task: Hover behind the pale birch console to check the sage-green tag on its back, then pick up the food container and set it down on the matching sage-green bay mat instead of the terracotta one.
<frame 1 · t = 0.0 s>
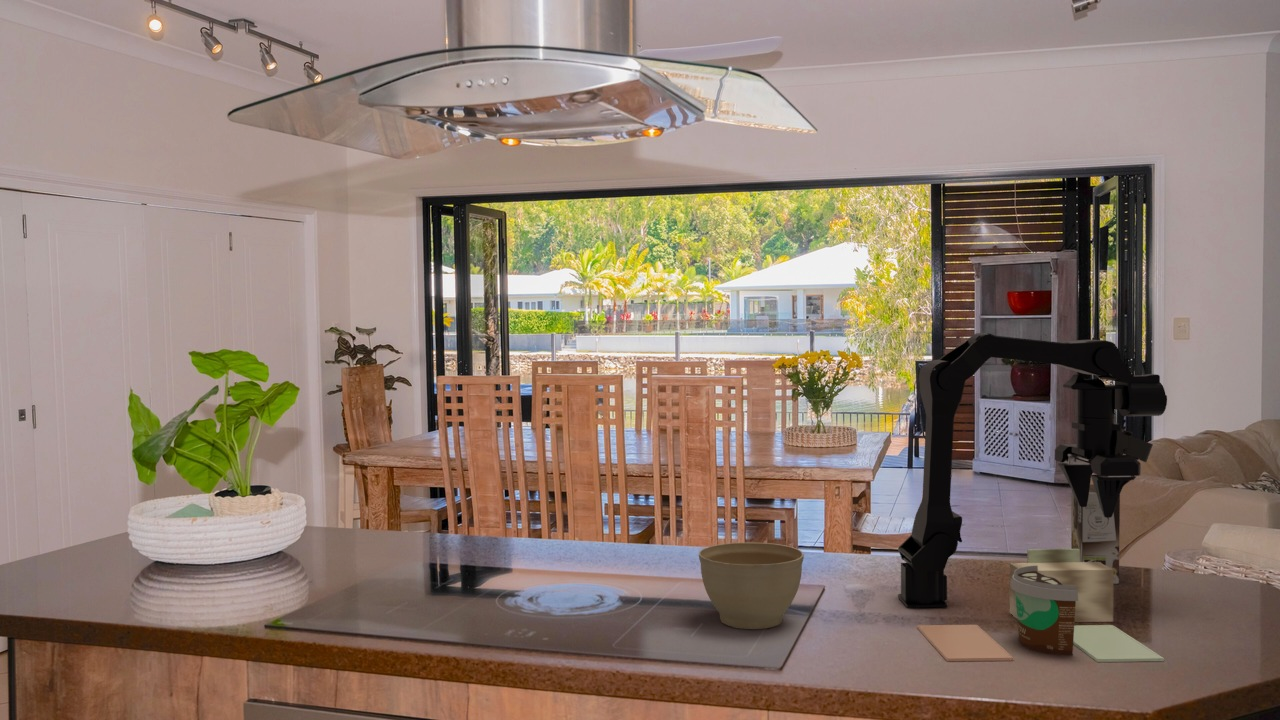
hand: (1095, 511, 166), 15 cm above the kitchen island, tool pointing down, fingers open, 9 cm apart
food container: (1035, 646, 145), on the kitchen island
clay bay: (962, 643, 146), on the kitchen island
coffee box: (1094, 578, 182), on the kitchen island
console: (1060, 617, 158), on the kitchen island
planter bowl: (751, 622, 158), on the kitchen island
sage bay: (1105, 643, 145), on the kitchen island
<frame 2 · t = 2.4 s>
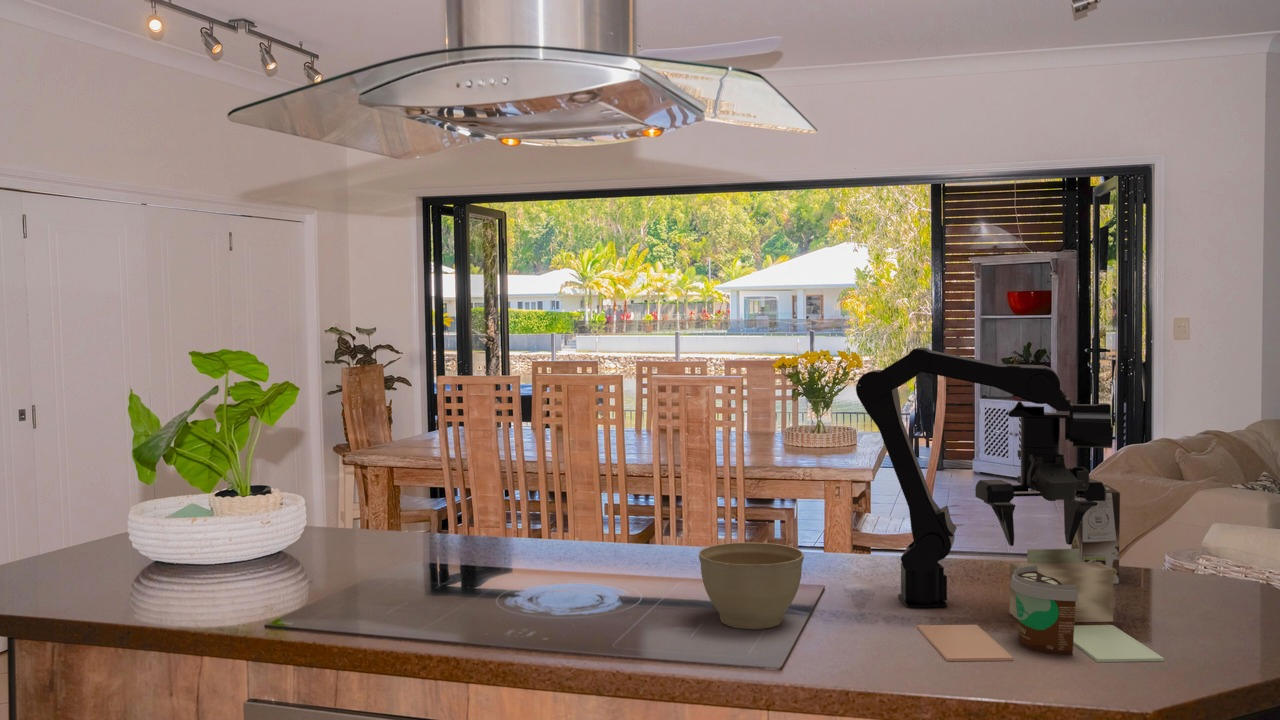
hand: (1039, 544, 159), 11 cm above the kitchen island, tool pointing down, fingers open, 9 cm apart
nothing on the kitchen island moved.
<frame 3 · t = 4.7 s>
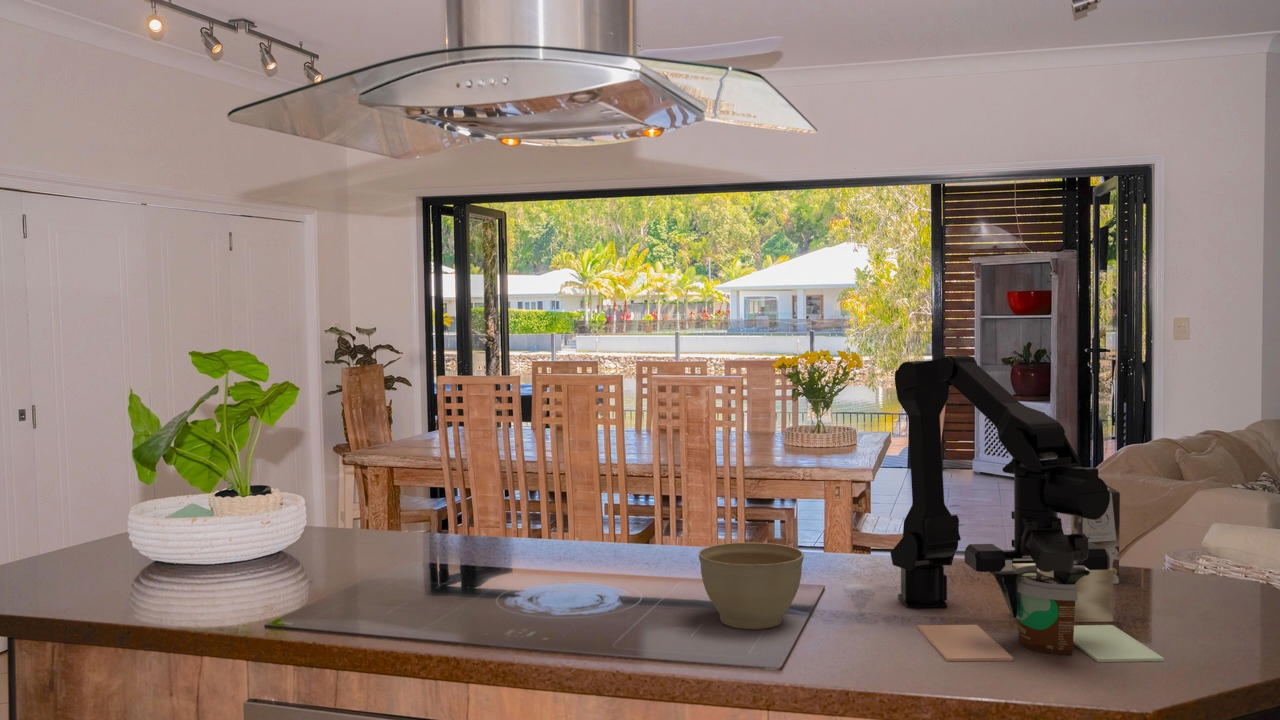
hand: (1036, 616, 144), 4 cm above the kitchen island, tool pointing down, fingers closed on food container, 6 cm apart
food container: (1035, 646, 145), on the kitchen island, touching gripper
everything else where it was.
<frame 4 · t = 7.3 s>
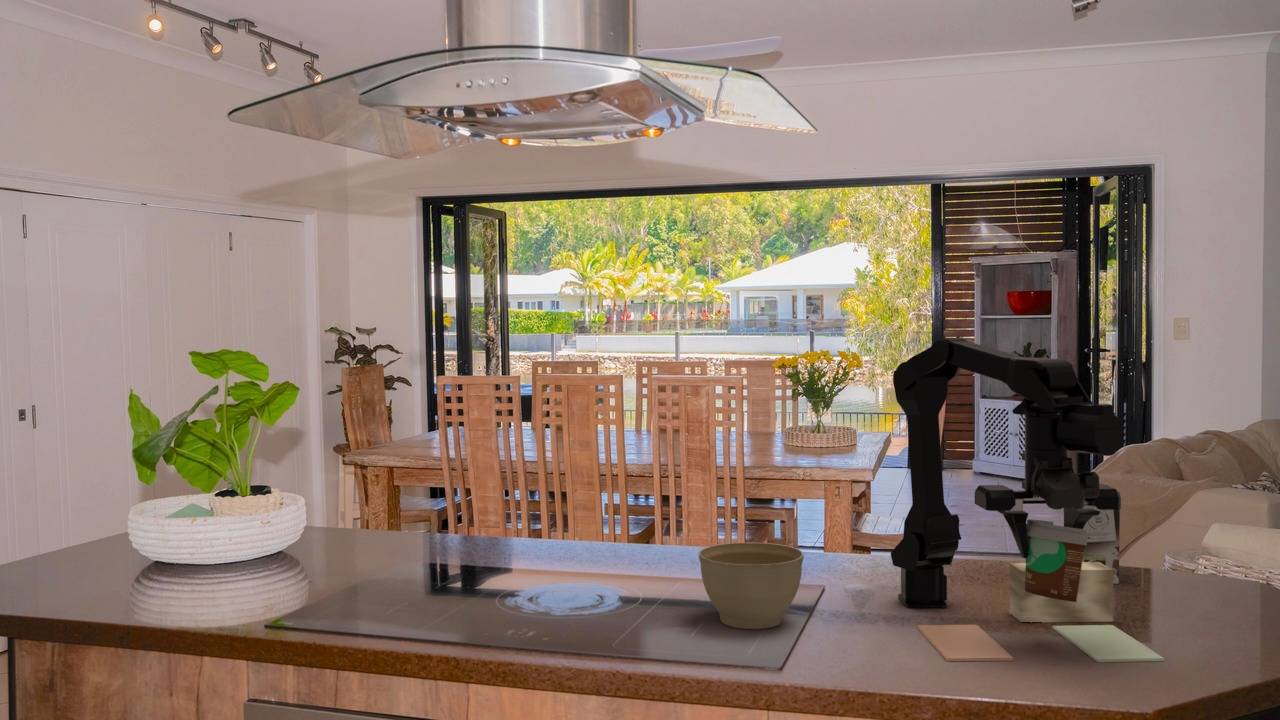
hand: (1046, 557, 144), 13 cm above the kitchen island, tool pointing down, fingers closed on food container, 6 cm apart
food container: (1040, 595, 143), point 7 cm above the kitchen island, touching gripper
everything else where it was.
when the fingers open (6 cm above the kitchen island, at t = 9.7 s): food container stays where it is, resting on sage bay.
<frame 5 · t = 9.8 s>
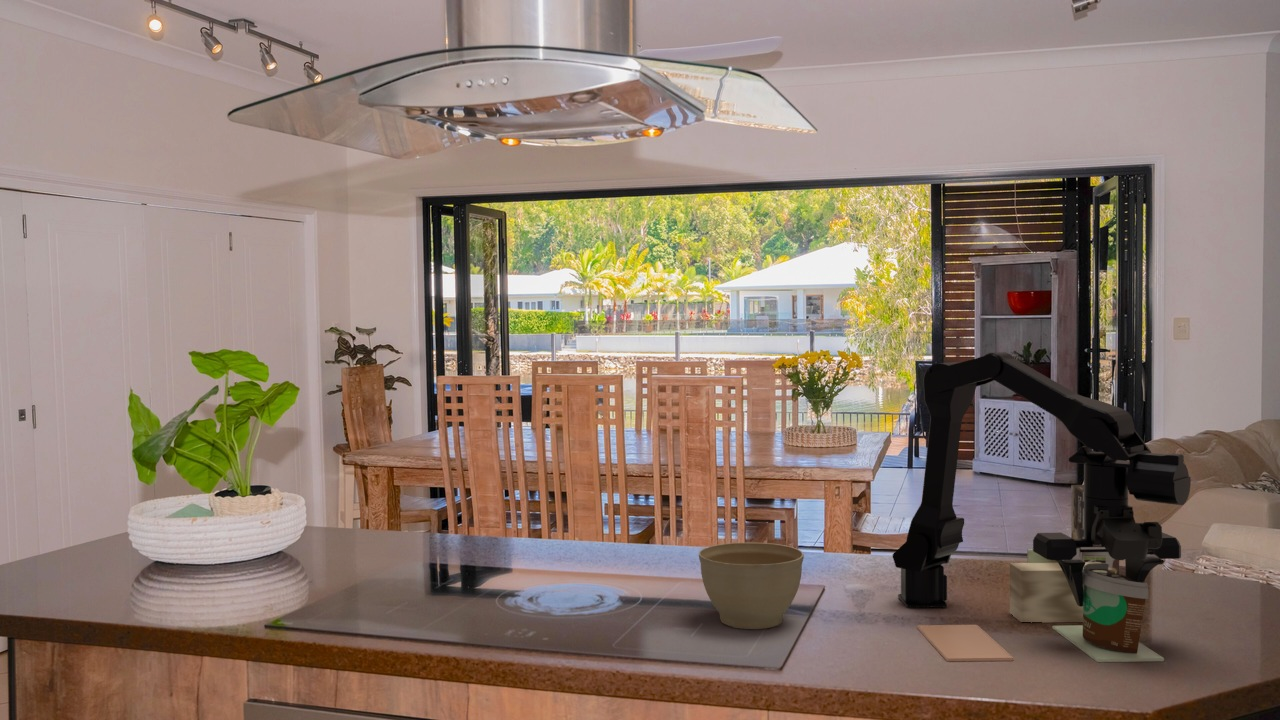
hand: (1105, 605, 144), 6 cm above the kitchen island, tool pointing down, fingers open, 7 cm apart
food container: (1098, 642, 144), resting on sage bay, touching gripper
everything else where it was.
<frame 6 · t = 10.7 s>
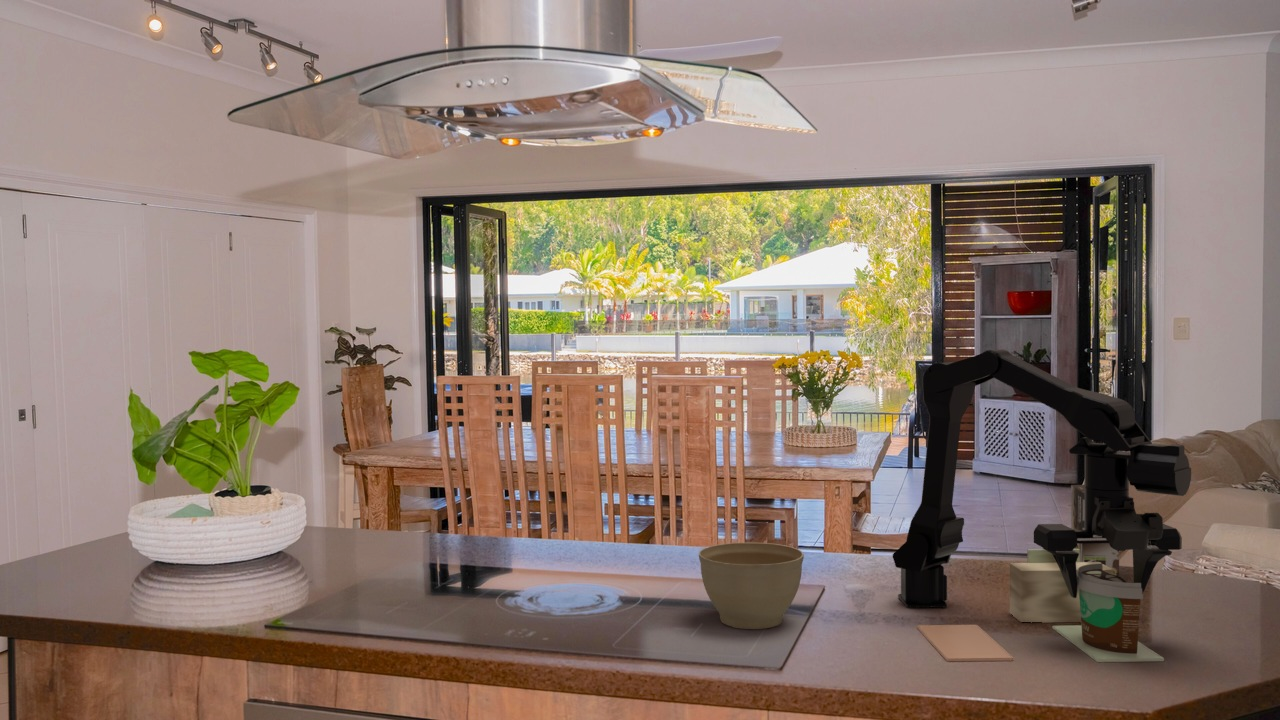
hand: (1106, 596, 144), 7 cm above the kitchen island, tool pointing down, fingers open, 9 cm apart
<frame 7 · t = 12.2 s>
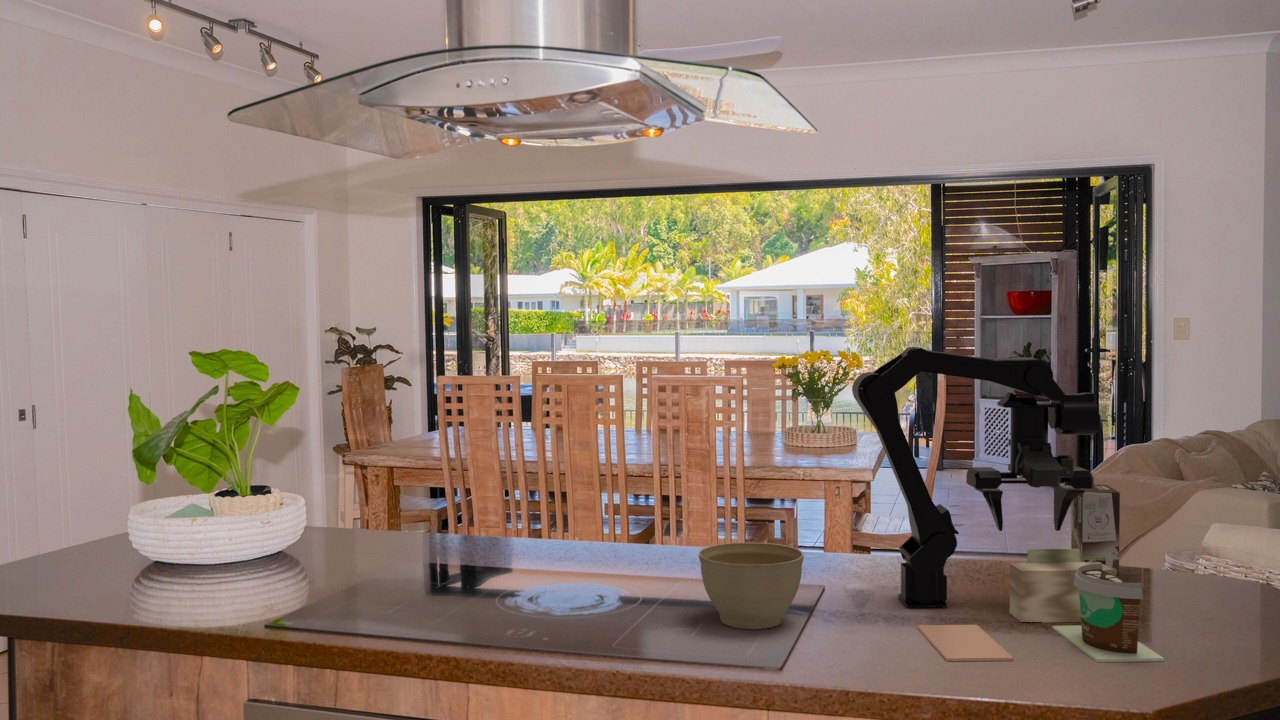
hand: (1028, 530, 165), 12 cm above the kitchen island, tool pointing down, fingers open, 9 cm apart
food container: (1098, 644, 144), resting on sage bay
everything else where it was.
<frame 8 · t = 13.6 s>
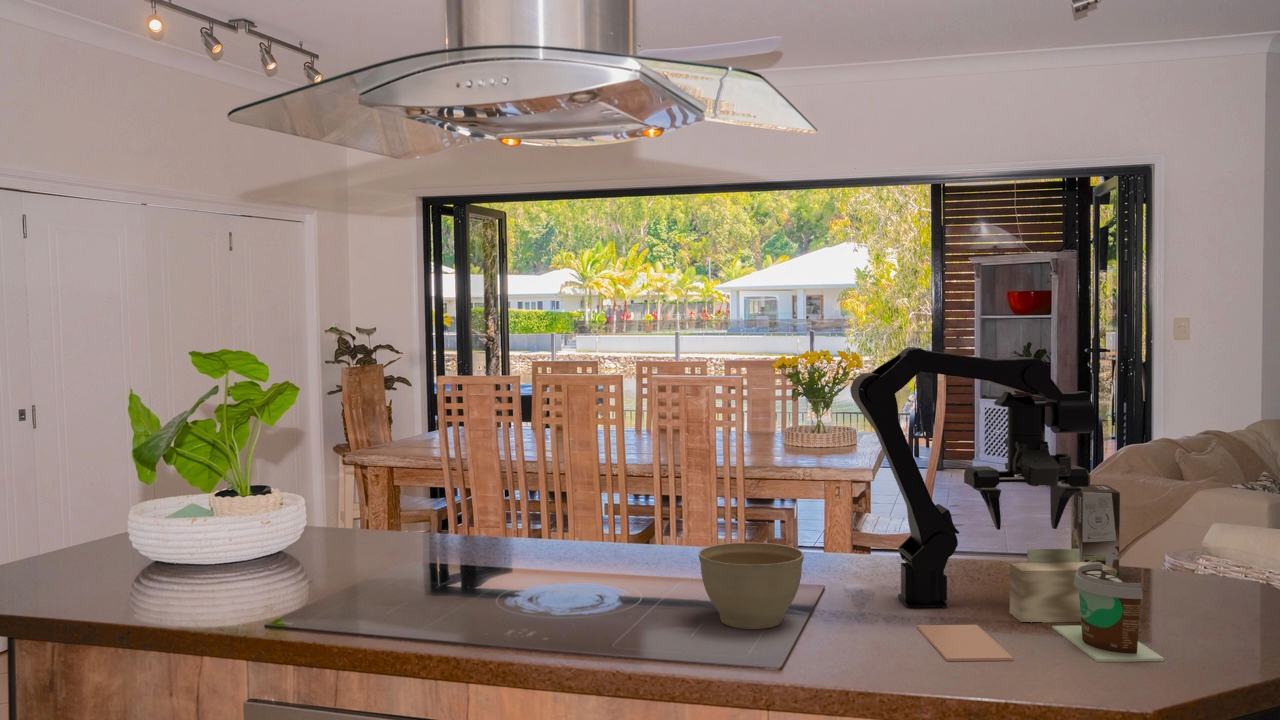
hand: (1026, 528, 166), 12 cm above the kitchen island, tool pointing down, fingers open, 9 cm apart
nothing on the kitchen island moved.
at the end: food container inside the target area on the sage bay (1.5 cm from its centre), point 0.2 cm above the sage bay's base; food container tilted 0°; the gripper is holding nothing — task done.
